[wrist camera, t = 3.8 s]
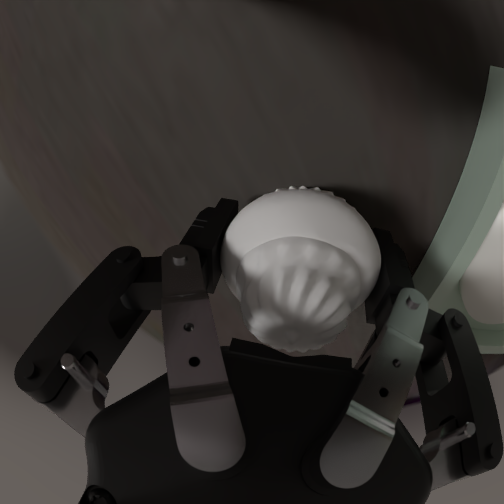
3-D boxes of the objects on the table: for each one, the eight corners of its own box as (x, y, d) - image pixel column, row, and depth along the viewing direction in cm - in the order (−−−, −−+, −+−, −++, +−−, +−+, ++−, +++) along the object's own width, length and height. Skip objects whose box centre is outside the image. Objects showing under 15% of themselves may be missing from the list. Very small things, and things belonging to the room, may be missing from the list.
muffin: (370, 154, 10) (420, 266, 5) (363, 265, 14) (374, 386, 9) (229, 161, 12) (157, 265, 7) (252, 265, 16) (218, 377, 10)
